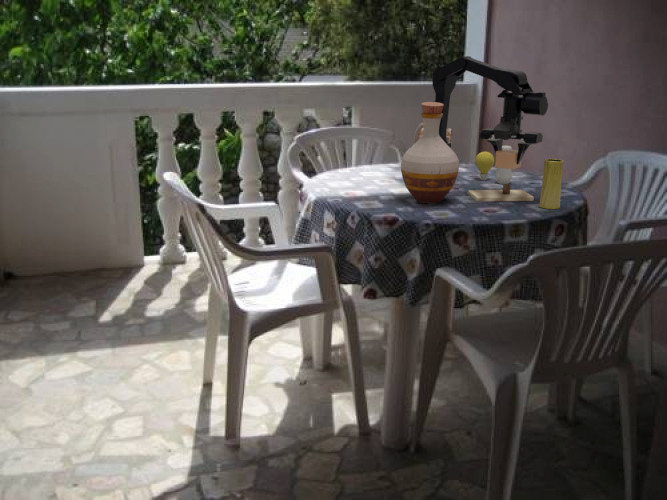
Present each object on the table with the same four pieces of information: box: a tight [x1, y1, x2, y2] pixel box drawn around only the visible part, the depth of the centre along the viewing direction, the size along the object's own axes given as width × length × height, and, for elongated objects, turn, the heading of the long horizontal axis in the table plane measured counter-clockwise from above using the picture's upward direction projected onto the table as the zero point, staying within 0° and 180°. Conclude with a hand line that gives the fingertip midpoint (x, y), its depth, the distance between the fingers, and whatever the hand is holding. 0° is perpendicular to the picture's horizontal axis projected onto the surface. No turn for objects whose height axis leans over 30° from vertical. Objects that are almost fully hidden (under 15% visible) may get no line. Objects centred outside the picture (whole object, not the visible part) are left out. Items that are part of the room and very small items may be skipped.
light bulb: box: [474, 151, 495, 181], centre depth 254 cm, size 7×7×10 cm
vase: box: [538, 158, 564, 210], centre depth 213 cm, size 6×6×14 cm
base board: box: [467, 183, 534, 203], centre depth 227 cm, size 18×11×4 cm, turn 95°
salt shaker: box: [494, 145, 513, 185], centre depth 247 cm, size 6×6×13 cm
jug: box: [400, 101, 460, 204], centre depth 219 cm, size 20×18×30 cm
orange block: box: [494, 149, 522, 170], centre depth 224 cm, size 6×6×5 cm
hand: (508, 163), depth 225 cm, fingers closed on orange block, 6 cm apart
